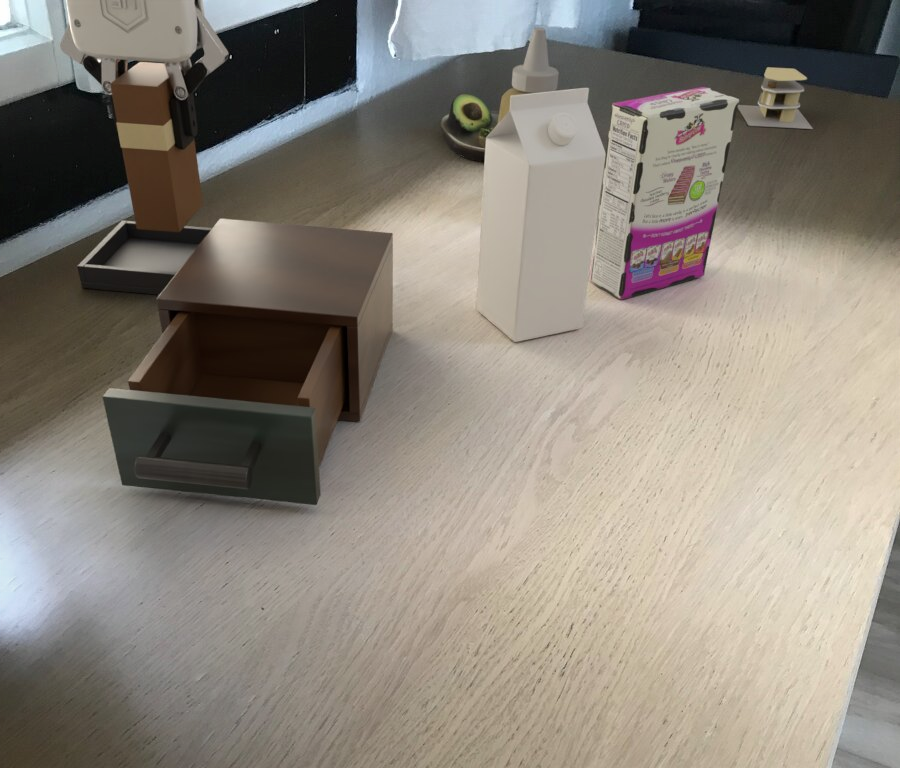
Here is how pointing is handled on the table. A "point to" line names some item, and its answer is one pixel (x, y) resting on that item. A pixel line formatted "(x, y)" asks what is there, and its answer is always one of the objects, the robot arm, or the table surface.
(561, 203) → the milk carton
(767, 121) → the stacked layers on plate
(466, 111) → the salad plate
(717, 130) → the candy bar box
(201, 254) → the cabinet
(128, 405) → the drawer
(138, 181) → the block
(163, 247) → the tray
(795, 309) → the table surface
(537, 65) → the squeeze bottle
